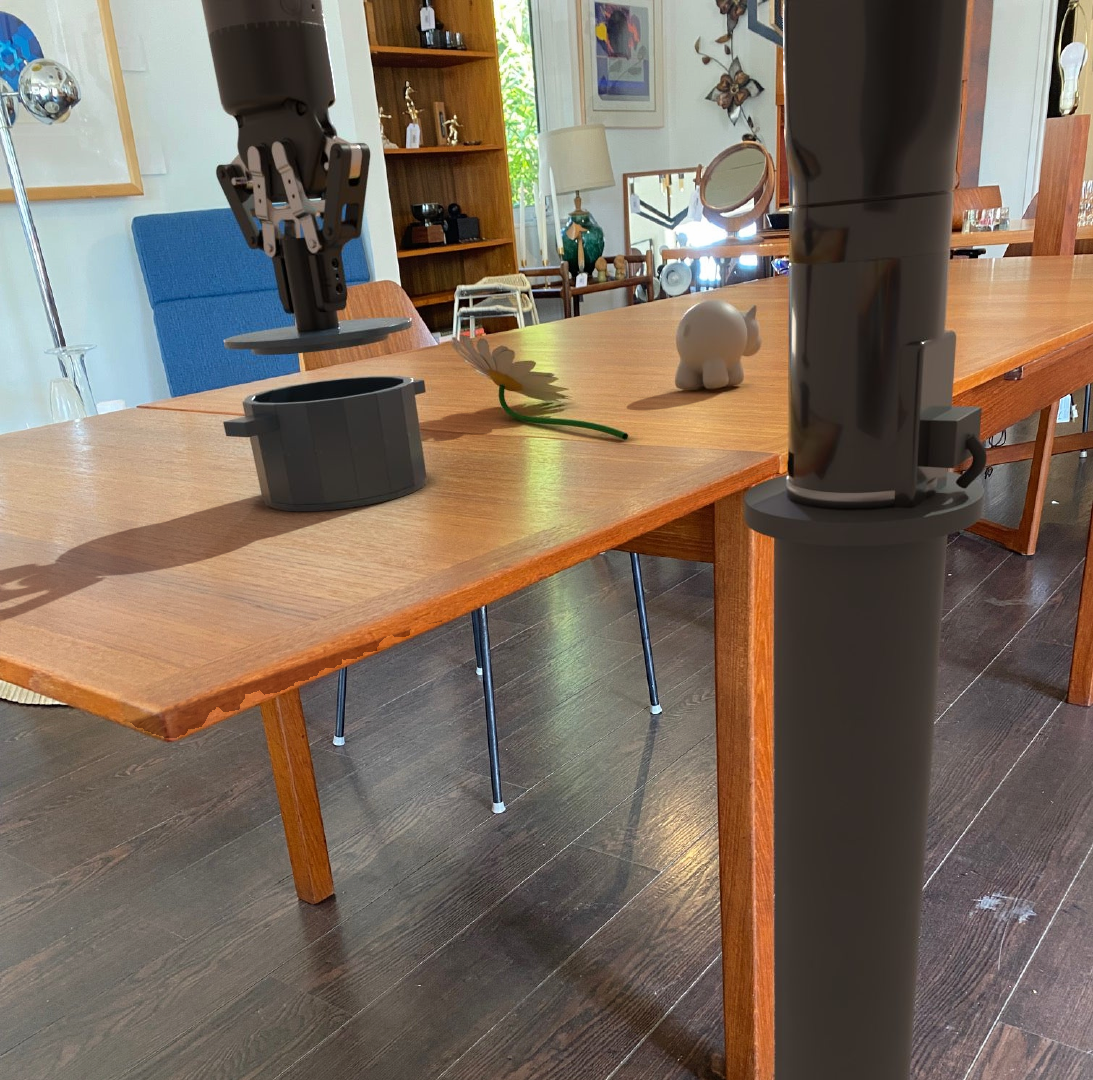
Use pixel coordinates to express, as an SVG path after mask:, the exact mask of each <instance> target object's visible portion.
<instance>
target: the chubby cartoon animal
mask: <svg viewBox="0 0 1093 1080" xmlns="http://www.w3.org/2000/svg"><path fill="white" fill-rule="evenodd" d="M757 307H758V306H757V304H755V305H753V306H751V307H750V308H749V309H748V311H741V310H740V311H739V310H738V308H736V307H735V306H733V304H730V303H728V302H727V301H724V300H719V299H708V300H703V301H701V302H698V303H696V304H694V305H693V306H691V307H689V309H688V310H687V311H686V312H684V314H683V316H682V318H680V321H679V323H678V326H677V329H676V333H675V345H676V350H677V353H678V355H679V359H680V360H679V363H678V366H677V369H676V372H675V375H674V376H675V377H674V385H675V387H676V388H677V389H680V390H687V391H689V390H690V391H693V390H696V389H698V388H699V387H704V388H706V389H709V390H712V389H714V390H715V389H720V388H723V387H732V386H733V387H734V386H739V385H741V384H742V383H743V382H744V379H745V372H744V367H743V365H742V361H741V358H742V357H745V358H746V357H752V356H755V355H757V353H758V352H759V351H760V349H761V347H762V341H763V340H762V338H761V335H760V333H761V332H760V324H759V321H758V319H757V317H756V314H757Z"/></svg>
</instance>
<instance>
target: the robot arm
mask: <svg viewBox="0 0 1093 1080" xmlns="http://www.w3.org/2000/svg"><path fill="white" fill-rule="evenodd" d="M200 1H201V6H202V7H201V8H202V10H203V11H202V12H203V17H204V21H205V28H206V32H207V37H208V43H209V48H210V53H211V58H212V64H213V69H214V74H215V78H216V84H217V85H216V86H217V90H218V95H219V100H220V105H221V108H222V110H223V111H224V112H225V113H226V114H227V115H229V116H232V117H233V118H234V119H235V120H236V121H235V122H237V123H236V124H237V141H236V142H237V144H236V147H237V153H238V154H237V155H236V156H235V158H234V159H233V160H232V161H231V162H230V163H226V164H218V165H217V166H216V168H215V175H216V178H217V181H218V183H219V185H220V187H221V190H222V192H223V194H224V196H225V199H226V200H227V203H228V205H229V207H230V209H231V211H232V214H233V216H234V218H235V220H236V223H237V225H238V228H239V229H240V231H241V233H242V235H243V238H244V240H245V242H246V244H247V246H248V247H249V249H251V250H260V251H262V252H264V253H265V255H266V256H267V257H268V258H270V259H271V261H272V266H273V271H274V277H275V282H276V287H277V292H278V293H277V294H278V297H279V301H280V303H281V305H282V309H283V311H284V312H285V313H286V314H287V315H294V310H293V304H292V298H291V293H290V287H289V282H288V276H287V271H286V265H285V260H284V254H283V249H282V243H281V240H284V239H293V238H302V234H301V231H302V233H303V236H304V237H305V240H306V244H307V247H308V249H309V251H310V252H311V253H314V255H309V256H308V258H309V264H310V270H311V276H312V282H313V287H314V293H315V299H316V305H317V308H318V310H319V311H320V312H333V311H337V312H338V311H344V310H345V309H346V308H347V301H348V293H349V292H348V288H347V287H348V285H347V281H346V275H345V274H346V273H345V269H344V261H343V256H342V252H343V250H344V248H345V245H347V244H348V243H349V242H350V241H351V240H355V239H359V238H360V237H361V234H362V229H363V219H364V213H365V204H366V197H367V196H366V195H367V186H368V179H369V171H370V163H371V150H370V147H369V145H368V144H367V143H365V142H349V141H347V140H345V139H343V138H341V137H339V135H338V132H337V129H336V127H335V125H334V123H333V121H332V118H331V115H330V112H329V108H331V107H333V106H334V104H335V103H336V101H337V93H336V86H335V79H334V73H333V67H332V61H331V54H330V47H329V41H328V35H327V27H326V22H325V16H324V7H323V2H322V0H200ZM968 1H969V0H783V1H782V3H783V7H782V8H783V9H782V10H783V11H782V13H783V14H782V18H783V19H782V22H783V23H782V25H783V26H782V27H783V29H782V30H783V31H782V32H783V34H782V35H783V98H784V99H783V100H784V101H783V103H784V106H783V107H784V108H783V109H784V111H783V112H784V113H783V114H784V123H783V125H784V126H783V127H784V147H785V155H786V156H785V157H786V163H787V171H788V173H787V174H788V206H789V207H790V208H789V211H788V263H789V264H788V357H787V358H788V366H787V367H788V371H787V373H788V374H787V375H788V376H787V379H788V383H787V385H788V386H787V391H788V392H787V457H788V458H787V461H786V472H787V475H788V476H787V497H788V498H789V499H790V500H792V501H794V502H797V503H800V504H803V505H807V506H811V507H818V508H825V509H838V510H865V509H880V508H892V507H898V508H914V507H916V506H917V505H919V504H920V503H922V502H923V501H925V500H926V499H928V498H929V497H931V496H933V495H934V494H935V493H936V492H938V491H939V490H941V489H942V488H944V487H945V486H946V484H947V472H948V469H955V468H956V467H957V466H960V465H961V464H962V463H964V462H965V461H966V460H968V459H970V458H971V457H972V460H971V464H970V466H969V467H968V468H967V469H966V470H965V471H964V472H962V474H960V475H961V476H960V477H959V478H958V479H957V481H956V484H957V485H958V486H959V487H961V488H965V489H966V488H967V487H968V486H969V485H970V483H971V482H972V481H974V480H975V481H976V479H977V478H978V477H979V476H980V475H981V474H982V473H983V471H984V469H985V467H986V464H987V459H988V457H987V450H986V449H985V446H984V445H983V443H982V442H981V440H980V435H981V423H982V410H983V408H982V406H964V405H963V406H959V405H958V406H957V405H956V406H955V405H954V406H953V394H954V393H953V392H954V381H955V379H954V377H955V366H956V365H955V364H956V352H957V351H956V350H957V349H956V348H957V333H956V332H955V331H954V330H952V329H948V330H947V329H946V325H947V324H946V323H947V310H948V293H949V276H950V264H951V262H950V261H951V248H952V247H951V246H952V233H953V231H952V229H953V218H954V217H953V215H954V199H955V193H954V192H953V191H954V190H955V187H956V186H955V184H956V171H957V159H958V149H959V139H960V127H961V112H962V94H963V93H962V89H963V75H964V61H965V47H966V33H967V32H966V30H967V18H968V17H967V16H968V3H969V2H968ZM317 199H320V200H317ZM279 203H281V204H282V203H283V204H284V205H280V206H279V205H278V206H274V205H273V204H279ZM344 207H345V214H344V219H342V217H343V211H344ZM318 217H319V218H320V220H321V222H322V228H320V223H319V221H318ZM254 218H256V219H257V220H258V221H259V223H260V226H261V227H262V228H261V229H259V227H258V226H257V223H256V222H255V219H254ZM281 221H283V232H284V233H283V232H282V229H281V227H280V222H281Z"/></svg>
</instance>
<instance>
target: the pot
mask: <svg viewBox="0 0 1093 1080" xmlns="http://www.w3.org/2000/svg"><path fill="white" fill-rule="evenodd" d="M426 391H427V390H426V383H425V379H413V377H409V376H403V375H369V376H368V375H367V376H355V377H353V376H352V377H343V378H333V379H325V380H316V381H310V382H304V383H297V384H290V385H285V386H281V387H278V388H272V389H267V390H263V391H259V392H256V393H254V394H251V395H248V396H246V397H245V398H244V399H243V400H242V401H241V403H242V407H243V413H244V416H242V417H237V418H233V419H229V420H225V421H223V422H222V424H223V429H224V433H225V436H226V437H230V438H231V437H233V438H249V441H250V446H251V450H252V454H253V460H254V465H255V470H256V474H257V479H258V484H259V489H260V494H261V497H262V499H263V501H264V504H265V505H266V506H267V507H268V508H271V509H275V510H278V511H286V512H325V511H334V510H335V511H336V510H345V509H352V508H357V507H364V506H370V505H374V504H375V505H376V504H380V503H385V502H388V501H391V500H396V499H398V498H401V497H404V496H407V495H410V494H412V493H414V492H416V491H419V490H420V489H422V488H423V487H424V486H425V485H426V484H427V482H428V478H427V477H428V476H427V470H426V463H425V462H426V461H425V455H424V450H423V449H424V448H423V442H422V436H421V435H422V434H421V427H420V421H419V414H418V406H417V400H416V399H417V398H416V396H417V395H421V394H425V393H426Z"/></svg>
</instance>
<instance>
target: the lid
mask: <svg viewBox="0 0 1093 1080" xmlns="http://www.w3.org/2000/svg"><path fill="white" fill-rule="evenodd" d="M281 243H282V249H283V254H284V260H285V265H286V271H287V276H288V282H289V287H290V293H291V298H292V304H293V310H294V314H293V315H294V320H295V325H292V326H291V325H290V326H284V327H278V328H277V327H276V328H270V329H263V330H258V331H252V332H246V333H242V334H241V333H240V334H238V335H237V334H236V335H233V336H230V337H227V338H225V339H223V345H224V348H225V349H228V350H234V351H235V350H239V351H243V350H245V351H247V350H249V351H250V350H251V353H252V354H253V355H255V356H256V355H258V356H281V355H295V354H307V353H317V352H324V351H325V352H326V351H333V350H341V349H346V348H347V349H348V348H353V347H359V346H366V345H371V344H375V343H379V342H383V341H386V340H388V339H389V337H390V334H394V333H398V332H402V331H406V330H409V329H411V328H412V327H413V322H412V318H409V317H403V316H402V317H392V316H391V317H372V318H371V317H370V318H355V319H345V320H339V316H338V311H333V312H320V311H319V310H318V308H317V305H316V299H315V293H314V287H313V282H312V276H311V270H310V264H309V258H308V256H309V255H314V253H311V252H310V251H309V249H308V247H307V244H306V240H305V237H301V238H293V239H284V240H281Z"/></svg>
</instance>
